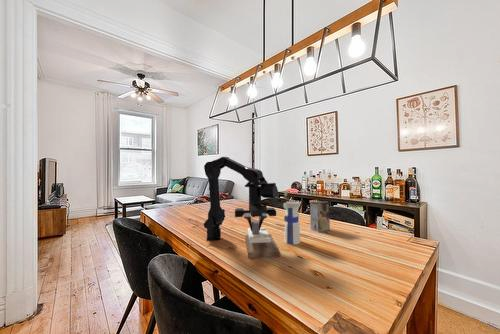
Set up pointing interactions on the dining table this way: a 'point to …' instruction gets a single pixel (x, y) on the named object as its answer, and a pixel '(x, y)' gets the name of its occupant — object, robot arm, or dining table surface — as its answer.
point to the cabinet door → (258, 234)
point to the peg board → (262, 249)
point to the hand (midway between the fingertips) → (255, 230)
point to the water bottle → (291, 222)
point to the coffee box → (319, 216)
